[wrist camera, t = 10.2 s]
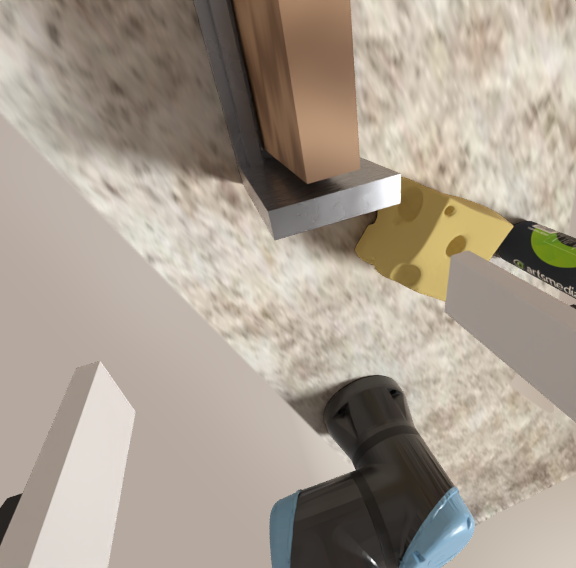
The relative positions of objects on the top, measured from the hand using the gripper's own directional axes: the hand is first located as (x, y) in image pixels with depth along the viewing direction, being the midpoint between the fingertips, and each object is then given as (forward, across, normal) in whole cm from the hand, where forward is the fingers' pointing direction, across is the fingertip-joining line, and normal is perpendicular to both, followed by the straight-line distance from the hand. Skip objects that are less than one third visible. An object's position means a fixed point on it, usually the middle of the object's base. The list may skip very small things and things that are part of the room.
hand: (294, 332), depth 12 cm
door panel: (+24, -6, -9) cm, 26 cm away
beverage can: (+25, -38, +18) cm, 49 cm away
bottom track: (+24, -6, -8) cm, 26 cm away
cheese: (+25, -20, +10) cm, 34 cm away
